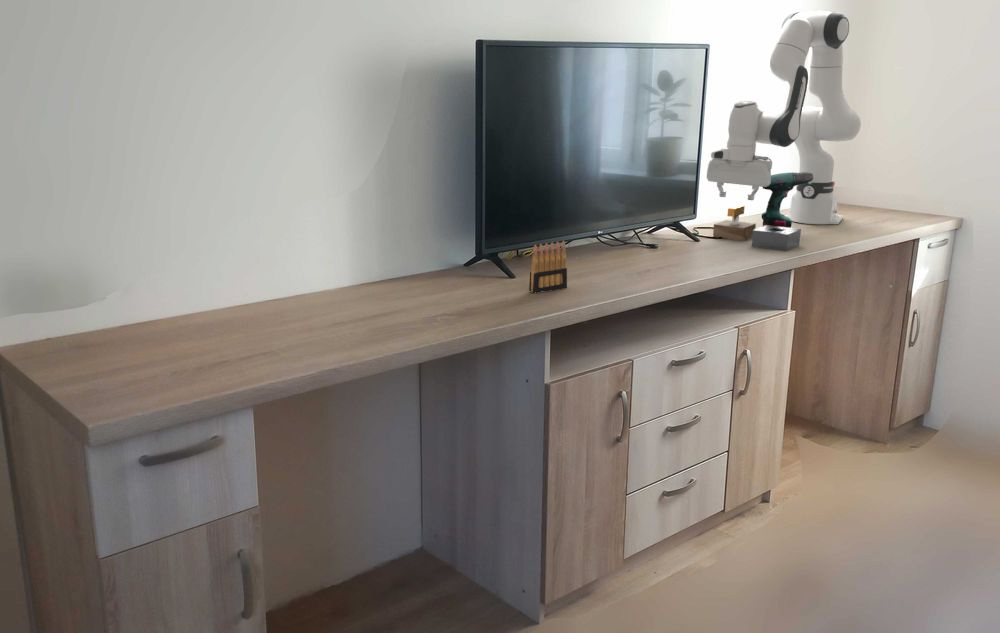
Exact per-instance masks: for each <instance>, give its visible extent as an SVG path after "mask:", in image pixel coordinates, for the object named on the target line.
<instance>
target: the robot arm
mask: <svg viewBox="0 0 1000 633" xmlns="http://www.w3.org/2000/svg"><path fill="white" fill-rule="evenodd" d="M780 25H781V26H780V31H779V32H778V33H777V36H776V38H775V40H774V42H773V45H772V48H771V49H770V53H769V54H768V61H767V65H768V69H769V71H770V72H771V74H772V75H774V77H775V78H777V79H778V80H779V81H781V82H783V83H785V84H788V91H787V95H786V101H785V103H784V109H783V110H782V111H781V112H778V113H776V112H775V113H774V112H767V111H766V112H765V111H763V110H762V109H760V108H759V105H758V103H757V102H756V101H753V100H745V101H744V100H743V101H738V102H736V103H734V104H733V105H732V107H731V111H730V113H729V114H730V115H729V120H728V129H727V132H728V140H727V142H726V147H725V148H721V149H719V150H715V151H712V152H711V153H710V158H711V160H710V161H708V165H707V169H706V170H707V171H706V179H707V181H708V182H713V183H716V187H717V189H718V191H719V194H718V195H719V197H720V198H726V195H727V191H725V190H724V187H723V186H724V184H732V185H739V186H740V185H741V186H751V189H752V192H751V193H749V194H747V201H754V200H755V196H756V194H757V192H758V190H759V189H760V188H761V187H767V186H769V185H770V183H771V175H772V172H771V170H772V167H773V161H772V159H771V158H769V156H761V155H756V148H757V144H758V143H759V144H763V145H765V144H766V145H773V146H778V147H781V148H786V147H789V146H791V145H792V144H793V143H794V145H795V146H796V148H797V150H798V155H799V172H798V173H801V172H809V173H812V174H813V175H814V177H813V180H812V181H810V182H807V183H803V184H799V185H796V186H795V187H796V192H795V193H793V194H792V195H791V199H790V204H789V205H790V206H789V212H788V214H784V216H785V217H788V218H790V219H791V220H792V222H795V223H799V224H808V225H839V224H840V223H841V221H842V219H843V215H841V214H839V213H838V214H837V210H838V201H837V199H836V196H835V195H834V187H835V183H836V182H835V181H834V180H833V178H834V176H833V175H834V167H835V160H834V158H833V156H832V154H830V153H829V152H827V151H826V150H824V149H823V148H822V145H821V143H820V142H821V141H826V142H836V143H838V142H846V141H847V142H848V141H852V140H854V139H855V138H856V136H858V134H859V132H860V129H861V118H860V116H859V114H858V113H857V111H855V110H854V109H853V108H852V107H851V106H850V104H849V103H848V101H847V100H846V98H845V95H844V91H843V67H844V46H843V45H844V44H843V43H844V42H845V41H846V39H847V37H848V35H849V32H850V22H849V20H848V17H847V16H846V14H844V13H842V12H837V11H832V12H831V11H823V10H816V11H806V12H801V11H800V12H799V11H798V12H793V13H790V14H788V15H787V16H786V17H785V18H784V19H783V21H782V22H781V24H780ZM808 54H809V55H808ZM807 57H808V62H807V63H808V64H807V68H806V67H805V64H806V60H807ZM807 91H808V92H809V94H811V95H812V96H813V97H815V98H817V99H818V100H819V102H820V104H821V107H818V106H817V107H816V106H804V103H805V98H806V94H807Z"/></svg>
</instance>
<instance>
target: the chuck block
mask: <svg viewBox="0 0 1000 633" xmlns="http://www.w3.org/2000/svg"><path fill="white" fill-rule="evenodd" d="M801 232H802V229H801V228H793V227H791V228H786V227H778V226H770V225H765V226H763V225H762V226H759V227H758V228H756V229H755V230H753V235H752V237H751V247H753V248H762V249H769V250H775V251H776V250H777V251H782V250H783V251H782V252H788V251H790V250H793V249H795V248H797V247H799V246H800V244H801V235H802V234H801ZM794 247H795V248H794ZM792 248H793V249H792Z"/></svg>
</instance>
